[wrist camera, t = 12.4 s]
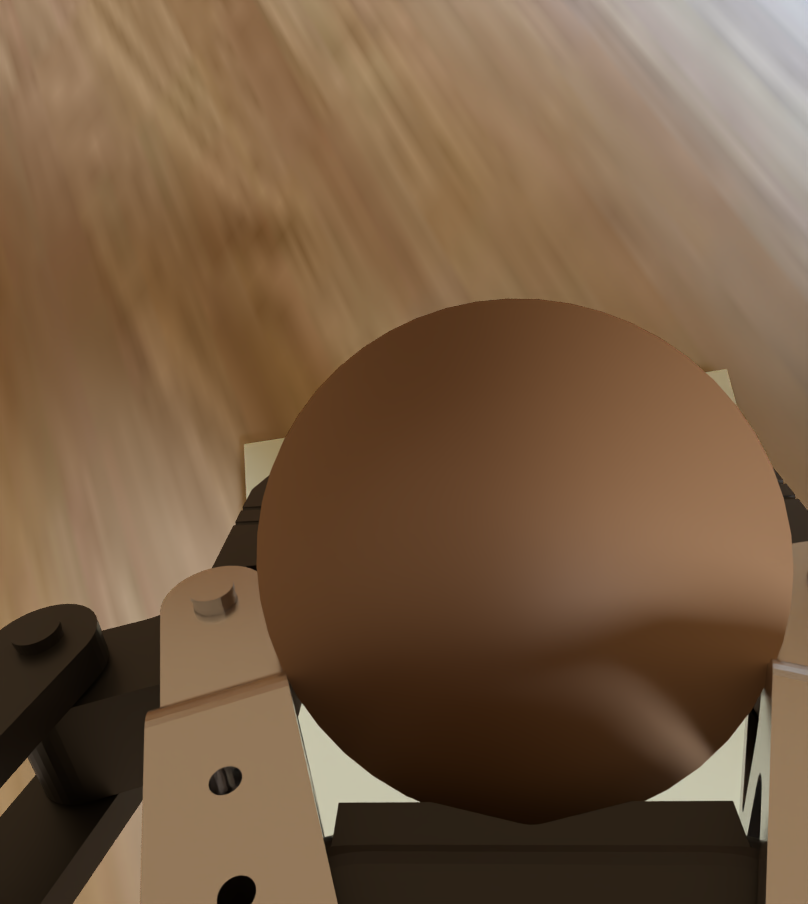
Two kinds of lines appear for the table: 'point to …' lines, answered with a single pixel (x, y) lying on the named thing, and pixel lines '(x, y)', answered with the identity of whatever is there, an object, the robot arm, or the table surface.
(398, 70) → the table surface
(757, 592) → the walnut cylinder
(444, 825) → the robot arm
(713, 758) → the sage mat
